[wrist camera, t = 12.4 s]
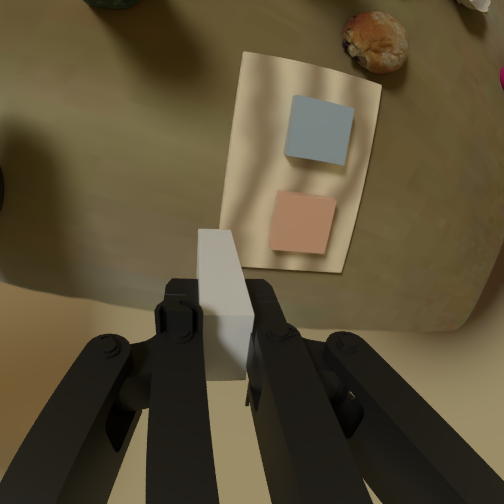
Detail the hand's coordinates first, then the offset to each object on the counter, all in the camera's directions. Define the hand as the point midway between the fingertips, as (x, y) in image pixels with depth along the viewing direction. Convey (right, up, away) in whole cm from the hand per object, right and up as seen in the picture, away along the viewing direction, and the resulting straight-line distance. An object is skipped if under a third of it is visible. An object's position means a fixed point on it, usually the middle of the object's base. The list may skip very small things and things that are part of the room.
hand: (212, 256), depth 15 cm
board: (+8, +12, +28) cm, 31 cm away
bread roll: (+19, +31, +21) cm, 42 cm away
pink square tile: (+5, +5, +28) cm, 29 cm away
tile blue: (+7, +16, +23) cm, 29 cm away
